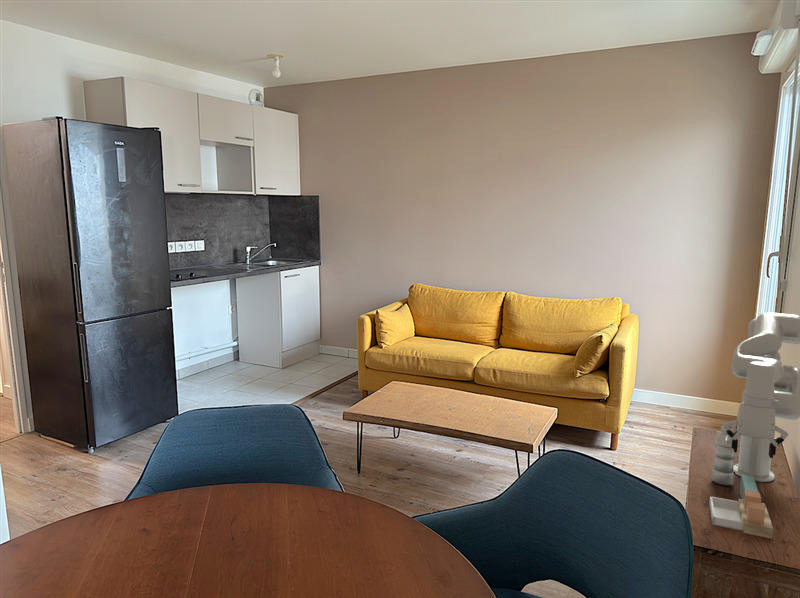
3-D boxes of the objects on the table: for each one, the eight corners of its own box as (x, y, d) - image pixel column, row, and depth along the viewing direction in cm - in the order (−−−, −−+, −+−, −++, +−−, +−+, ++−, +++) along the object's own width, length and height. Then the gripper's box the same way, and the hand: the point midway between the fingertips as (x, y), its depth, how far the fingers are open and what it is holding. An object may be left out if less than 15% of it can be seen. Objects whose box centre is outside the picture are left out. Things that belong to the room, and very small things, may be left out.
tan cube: (742, 502, 175) (744, 489, 174) (758, 505, 173) (759, 492, 172) (744, 507, 171) (745, 495, 170) (760, 511, 169) (761, 498, 169)
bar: (739, 491, 188) (741, 474, 187) (751, 494, 187) (753, 476, 186) (743, 507, 177) (745, 489, 177) (756, 510, 176) (758, 492, 175)
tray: (709, 503, 180) (709, 496, 179) (737, 509, 176) (738, 501, 176) (712, 524, 167) (712, 516, 167) (743, 531, 164) (743, 522, 163)
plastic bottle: (714, 477, 198) (719, 421, 196) (736, 483, 194) (741, 427, 191) (708, 482, 194) (713, 426, 191) (730, 489, 189) (735, 432, 186)
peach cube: (745, 514, 167) (747, 501, 167) (761, 517, 166) (763, 504, 165) (747, 520, 164) (748, 507, 163) (763, 523, 162) (765, 510, 162)
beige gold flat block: (737, 507, 177) (738, 498, 177) (763, 512, 174) (764, 503, 174) (743, 532, 163) (744, 522, 162) (772, 538, 160) (773, 528, 159)
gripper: (788, 402, 177) (783, 454, 179) (725, 394, 184) (720, 444, 187) (793, 409, 170) (787, 463, 173) (727, 400, 178) (722, 453, 180)
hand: (752, 453), depth 180 cm, fingers open, 9 cm apart
